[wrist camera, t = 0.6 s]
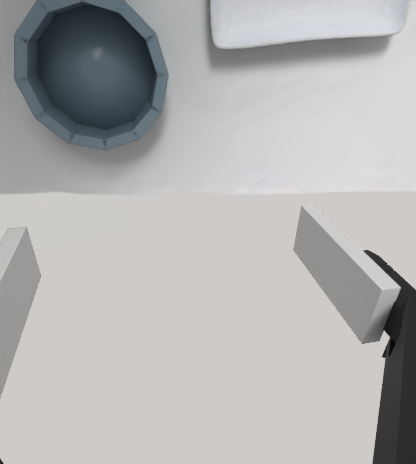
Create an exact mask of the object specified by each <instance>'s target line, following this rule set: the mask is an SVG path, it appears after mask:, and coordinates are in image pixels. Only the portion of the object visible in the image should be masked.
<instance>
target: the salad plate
mask: <svg viewBox="0 0 416 464" xmlns="http://www.w3.org/2000/svg"><path fill="white" fill-rule="evenodd" d="M409 5H410V0H210V25H211V36H212V41H213V43H214V45H215V47H217V48H219V49H224V50H233V49H246V48H254V47H263V46H270V45H278V44H286V43H294V42H303V41H313V40H326V39H340V38H361V37H381V36H390V35H394V34H397V33H399V32H400V31H401V30H402V28H403V27H404V25H405V22H406V18H407V14H408V10H409Z"/></svg>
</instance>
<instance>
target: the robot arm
mask: <svg viewBox="0 0 416 464" xmlns="http://www.w3.org/2000/svg"><path fill="white" fill-rule="evenodd" d="M293 250H294V252H295V253H296V254H297V256H298V257H299V258H300V260H301V261H302V262H303V264H304V265H305V267H306V268H307V269H308V271H309V272H310V273H311V275H312V276H313V277H314V279H315V280H316V282H317V283H318V284H319V286H320V287H321V288H322V290H323V291H324V293H325V294H326V295H327V297H328V298H329V299H330V301H331V302H332V303H333V305H334V306H335V307H336V309H337V310H338V312H339V313H340V314H341V316H342V317H343V318H344V320H345V321H346V323H347V324H348V325H349V327H350V328H351V329H352V331H353V332H354V333H355V335H356V336H357V338H358V339H359V340H360V342H361V343H362V344H364V343H369V342H376V341H380V338H381V336H382V333H383V331H384V330H385V332H386V333H387V334H388V335H389V336H390V339H389V341H388V344H387V346H386V348H385V351H384V353H383V356H382V357H384V358H385V357H386V359H385V368H384V376H383V384H382V392H381V401H380V408H379V416H378V424H377V432H376V440H375V448H374V456H373V464H416V290H415V289H414V288H413V287H412V286H411V285H410V284H409V283H408V282H406V281H405V280H404V279H403V278H402V277H401V276H400V275H399V274H398V273H397V272H396V271H393V269H392V268H391V267H390V266H389V265H387V263H386V262H385V261H384V260H383V259H382V258H381V257H379V256H378V255H376V254H374V253H372V252H371V251H369V250H365V251H363V250H362V249H361V248H360V247H358V246H357V245H356V244H355V243H354V242H353V241H352V240H351V239H350V238H349V237H348V236H347V235H346V234H345V233H344V232H343V231H342V230H341V229H340V228H339V227H338V226H337V225H336V224H335V223H334V222H333V221H331V219H330V218H328V217H327V216H326V215H325V214H324V213H323V212H322V211H321V210H320V209H319V208H318V207H317V206H316V205H304V206H301V211H300V217H299V222H298V227H297V233H296V239H295V244H294V249H293ZM40 278H41V274H40V271H39V267H38V264H37V261H36V257H35V254H34V250H33V247H32V244H31V240H30V237H29V233H28V230H27V227H21V228H9V229H7V231H6V233H5V235H4V236H3V238H2V240H1V242H0V397H1V394H2V391H3V388H4V385H5V382H6V379H7V376H8V373H9V370H10V367H11V364H12V361H13V358H14V355H15V352H16V349H17V346H18V343H19V340H20V337H21V334H22V331H23V328H24V325H25V322H26V319H27V316H28V313H29V310H30V307H31V304H32V301H33V298H34V295H35V292H36V289H37V286H38V283H39V280H40ZM0 464H3V462H2V461H1V459H0Z"/></svg>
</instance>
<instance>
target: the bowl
mask: <svg viewBox="0 0 416 464" xmlns="http://www.w3.org/2000/svg"><path fill="white" fill-rule="evenodd" d="M87 5H90V6H87ZM118 14H120V15H121V16H122V17H121V16H120V15H118ZM141 36H142V37H143V38H144V40H145V41H144V40H143V38H142V37H141ZM153 68H154V69H153ZM168 76H169V75H168V71H167V68H166V65H165V61H164V58H163V55H162V51H161V48H160V45H159V42H158V38H157V35H156V34H155V32H154V31H153V30H152V29H151V28H150V27H149V26H148V25H147V24H146V22H145V21H144V20H143V19H142V18H141V17H140V16H139V15H138V14H137V13H136V12H135V11H134V10H133V9H132V8H131V7H130V6H129V5H128V4H127V2H126V1H125V0H124V1H123V0H37V1H36V3H35V4H34V6H33V7H32V9H31V10H30V12H29V13H28V15H27V16H26V18H25V19H24V21H23V22H22V24H21V25H20V27H19V28H18V30H17V31H16V33H15V35H14V79H16V80H15V81H16V83H17V85H18V87H19V89H20V91H21V93H22V94H23V96H24V98H25V100H26V102H27V104H28V106H29V107H30V109H31V111H32V113H33V115H34V117H35V118H36V119H37V120H38V121H39V122H41V123H42V124H43V125H45V126H46V127H48V128H49V129H50V130H52V131H53V132H54V133H56V134H57V135H58V136H60V137H61V138H62V139H64V140H65V141H67V142H68V143H69V142H70V144H75V145H81V146H86V147H92V148H97V149H102V150H108V149H111V148H114V147H117V146H120V145H123V144H126V143H129V142H132V141H135V140H138V139H140V137H141V136H142V135H143V134H144V133H145V132H146V130H147V129H148V128H149V127H150V126H151V125H152V123H153V122H154V121H155V120H156V119H157V118H158V116H159V115H160V114H161V112H162V108H163V103H164V97H165V92H166V87H167V81H168Z"/></svg>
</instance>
